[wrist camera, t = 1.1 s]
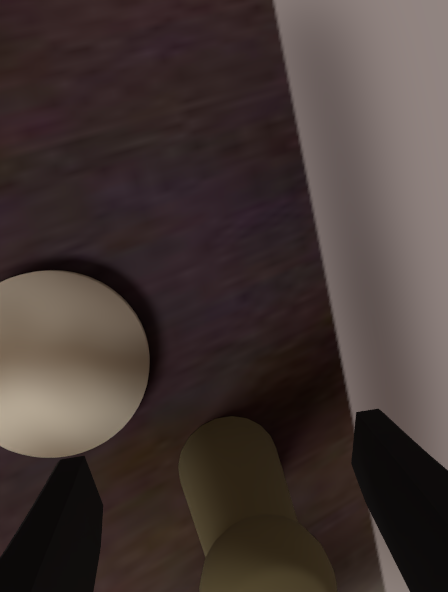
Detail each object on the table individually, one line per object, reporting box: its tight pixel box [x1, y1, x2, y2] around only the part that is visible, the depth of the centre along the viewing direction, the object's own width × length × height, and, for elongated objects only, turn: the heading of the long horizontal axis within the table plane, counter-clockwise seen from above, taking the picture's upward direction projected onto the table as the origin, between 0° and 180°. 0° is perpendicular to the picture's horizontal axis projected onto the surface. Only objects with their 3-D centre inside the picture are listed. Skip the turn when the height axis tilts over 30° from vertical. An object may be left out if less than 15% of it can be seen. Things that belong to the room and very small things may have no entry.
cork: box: [178, 416, 337, 592], centre depth 19 cm, size 6×6×11 cm
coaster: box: [0, 270, 150, 458], centre depth 22 cm, size 10×10×1 cm
